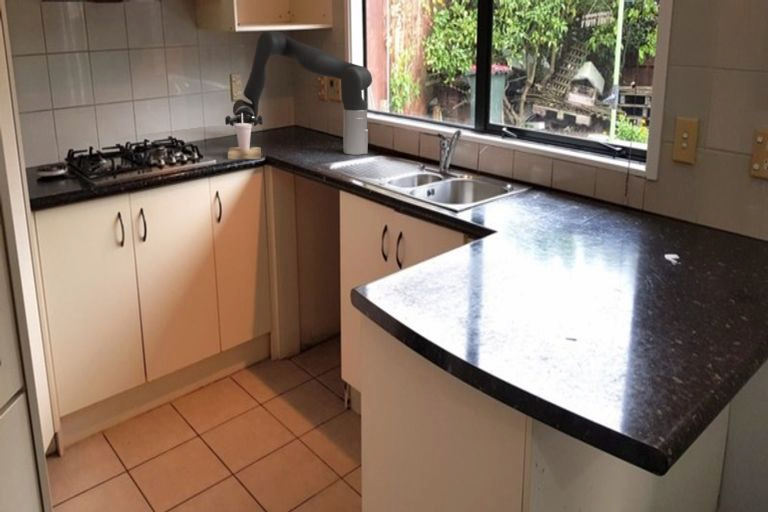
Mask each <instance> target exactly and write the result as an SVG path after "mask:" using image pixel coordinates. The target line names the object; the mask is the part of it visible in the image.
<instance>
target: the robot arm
mask: <svg viewBox="0 0 768 512" xmlns="http://www.w3.org/2000/svg"><path fill="white" fill-rule="evenodd" d="M271 56H282V57H286V58H287V59H291V60H293V61H295V62H296V63H297V64H298V65H299V66H300V67H301V68H302V69H304V70H306V71H308V72H310V73H313V74H315V75H317V76H318V75H319V76H322V77H328V78H333V79H338V80H340V92H341V94H340V95H341V96H340V97H341V102H342V104H343V153H344V154H346V155H353V156H355V155H357V156H358V155H367V154H368V143H369V142H368V139H369V138H368V137H369V136H368V133H369V130H368V102H367V101H366V100H365V99H363V91H364V90H366V89H368V88H369V87H370V86H371V84H372V83H373V76H372V74H371V72H370V70H369V69H368V68H367V67H365V66H363V65H359V64H356V63H352V62H349V61H348V62H347V61H345V60H343V59H341V58H338V57H336V56H334V55H332V54H331V53H328V52H325V51H323V50H321V49H318V48H316V47H313V46H311V45H308V44H305V43H301V42H300V41H299V42H298V41H297V40H294V39H293V38H291V37H289V36H288V35H286V34H284V33H282V32H280V31H273V30H272V31H270V30H269V31H264V32H263V31H262V32H261V34H259V36H258V39H257V43H256V48H255V52H254V57H253V62H252V65H251V72H250V73H249V77H248V80H247V82H246V84H245V87H244V90H243V96H244V97H245V98H246V99H248V100H249V102H248V101H246V100H243V99H237V100H236V101H235V102H234V103H233V106H232V113H233V116H232V117H231V116H230V115H226V117H224V119H225V120H224V121H225V123H224V124H225V125H226V126H228V125H229V126H231V127H234V126H235V124H238V123H242V120H241V113H243V123H249V124H252V126H254V127H256V126H258V125H262V126H263V117H262V115H258V114H259V104H260V103H259V102H260V98H261V95H262V93H263V90H264V88H265V85H266V66H267V63H268V61H269V59H270V58H271Z"/></svg>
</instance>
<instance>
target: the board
mask: <svg viewBox="0 0 768 512" xmlns="http://www.w3.org/2000/svg"><path fill="white" fill-rule="evenodd" d="M261 150H262V149H261V147H259V146H250V147H249V150H248V151H241V150H239V146H237V147H236V146H235V147H233V146H231V147H229V148H228V151H227V152H228V153H227V160H261V157H262V155H261V154H262V151H261Z"/></svg>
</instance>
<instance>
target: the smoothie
mask: <svg viewBox="0 0 768 512" xmlns="http://www.w3.org/2000/svg"><path fill="white" fill-rule="evenodd" d="M241 120H242V123H238V124H235V125H234V128H235V130H236V135H237V136H236V137H237V144H238V147H239V150H241V151H248V150H249V147H251V144H250V143H251V134H252V133H251V132H252V127H253V125H252V124H249V123H243V113H241Z"/></svg>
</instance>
